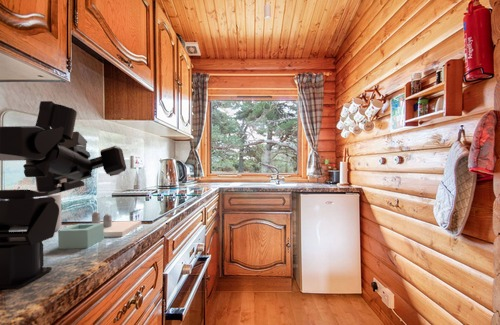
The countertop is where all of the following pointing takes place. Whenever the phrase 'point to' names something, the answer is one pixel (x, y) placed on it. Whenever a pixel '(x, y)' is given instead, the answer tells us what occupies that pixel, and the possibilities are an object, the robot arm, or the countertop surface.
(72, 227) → the block with square hole
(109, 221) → the base plate
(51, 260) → the countertop surface
